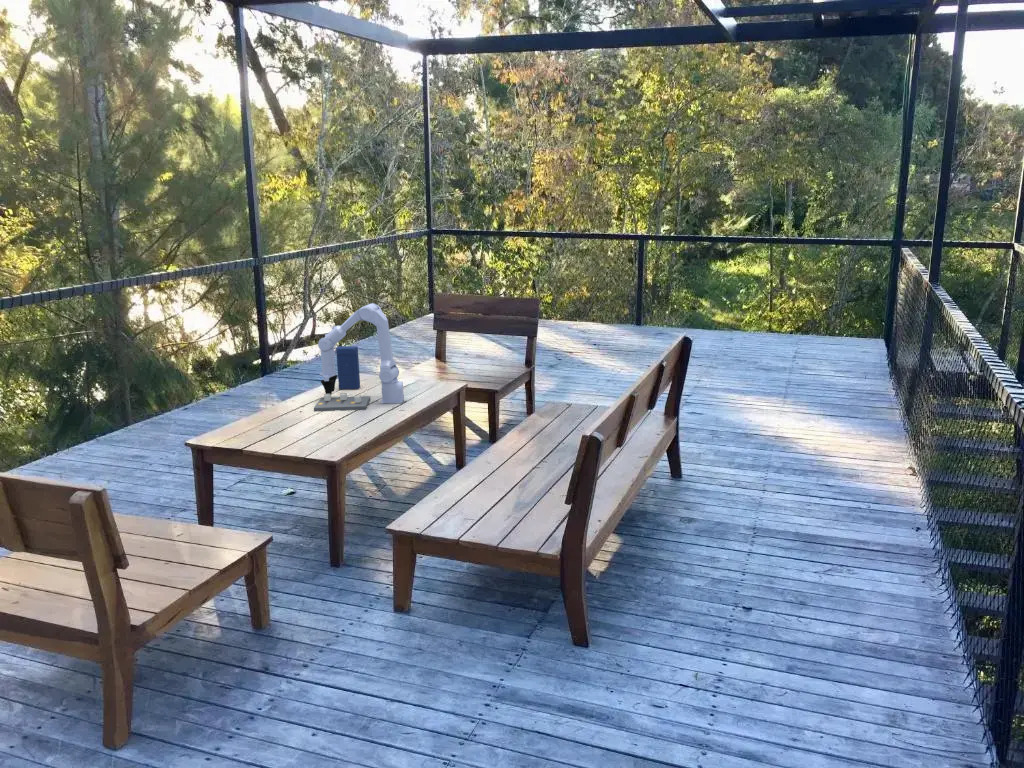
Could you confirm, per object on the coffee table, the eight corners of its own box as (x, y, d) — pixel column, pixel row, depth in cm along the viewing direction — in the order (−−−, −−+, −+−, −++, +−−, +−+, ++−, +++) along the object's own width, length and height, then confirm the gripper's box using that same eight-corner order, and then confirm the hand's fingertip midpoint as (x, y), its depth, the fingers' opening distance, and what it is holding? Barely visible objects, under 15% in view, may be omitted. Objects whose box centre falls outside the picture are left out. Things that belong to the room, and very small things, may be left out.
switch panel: (370, 399, 397) (370, 396, 397) (365, 409, 380) (365, 406, 379) (321, 401, 396) (320, 397, 396) (314, 411, 379) (313, 407, 379)
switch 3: (361, 400, 387) (361, 394, 387) (360, 402, 384) (360, 396, 384) (355, 401, 387) (355, 394, 387) (354, 402, 384) (354, 396, 384)
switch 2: (347, 398, 392) (346, 392, 391) (346, 400, 389) (345, 394, 388) (341, 398, 392) (340, 392, 391) (340, 400, 389) (339, 394, 388)
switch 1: (331, 399, 392) (330, 393, 391) (330, 400, 389) (329, 394, 388) (325, 399, 392) (325, 393, 391) (324, 400, 389) (323, 394, 388)
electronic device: (360, 387, 421) (358, 345, 417) (358, 389, 416) (355, 347, 412) (341, 387, 422) (338, 345, 418) (338, 389, 417) (335, 348, 413)
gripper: (321, 360, 401) (324, 389, 404) (316, 367, 387) (318, 397, 390) (337, 360, 401) (339, 389, 404) (332, 366, 387) (334, 397, 390)
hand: (330, 393), depth 397 cm, fingers open, 7 cm apart
